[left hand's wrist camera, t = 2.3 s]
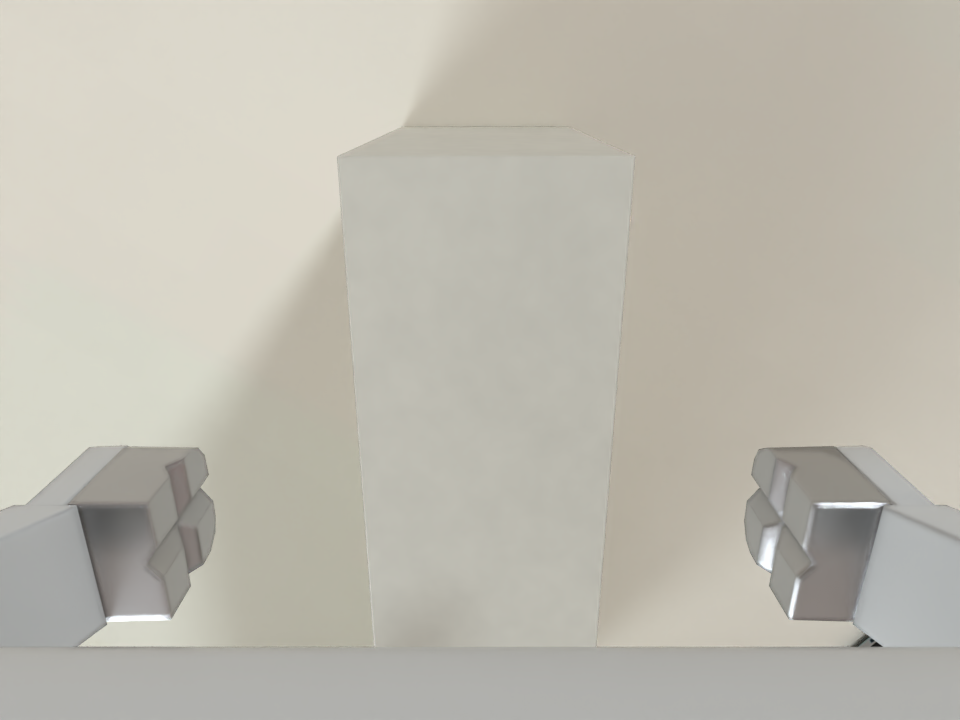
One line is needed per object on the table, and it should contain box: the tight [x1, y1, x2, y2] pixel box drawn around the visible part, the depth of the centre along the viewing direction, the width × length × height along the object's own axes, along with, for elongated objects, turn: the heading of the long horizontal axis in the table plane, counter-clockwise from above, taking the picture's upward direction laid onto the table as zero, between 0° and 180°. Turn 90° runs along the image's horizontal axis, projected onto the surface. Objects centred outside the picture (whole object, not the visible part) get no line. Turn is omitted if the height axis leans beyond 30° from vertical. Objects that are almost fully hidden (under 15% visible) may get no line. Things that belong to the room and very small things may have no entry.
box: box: [337, 127, 635, 647], centre depth 26 cm, size 28×6×12 cm, turn 0°
